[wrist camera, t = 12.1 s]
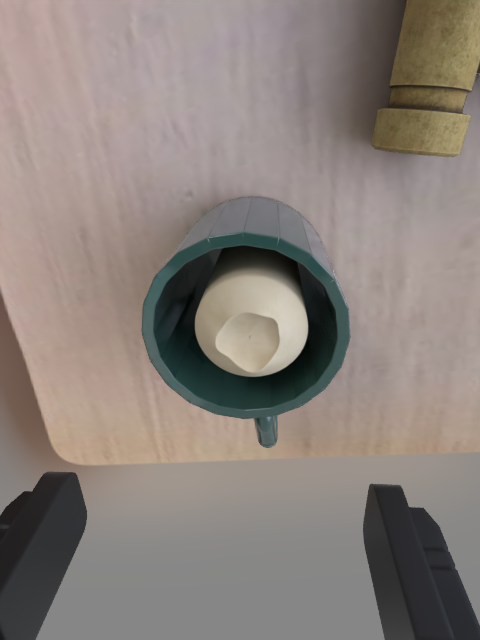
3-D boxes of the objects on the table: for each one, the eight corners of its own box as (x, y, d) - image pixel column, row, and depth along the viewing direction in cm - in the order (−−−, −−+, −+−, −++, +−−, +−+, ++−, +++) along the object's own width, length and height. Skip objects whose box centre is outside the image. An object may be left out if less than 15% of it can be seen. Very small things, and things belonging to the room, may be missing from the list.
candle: (298, 308, 29) (309, 393, 20) (219, 309, 29) (195, 394, 20) (298, 229, 26) (311, 285, 17) (212, 232, 27) (182, 289, 18)
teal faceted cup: (165, 209, 27) (116, 250, 19) (319, 184, 26) (343, 216, 17) (206, 382, 33) (183, 474, 24) (335, 369, 31) (358, 462, 23)
